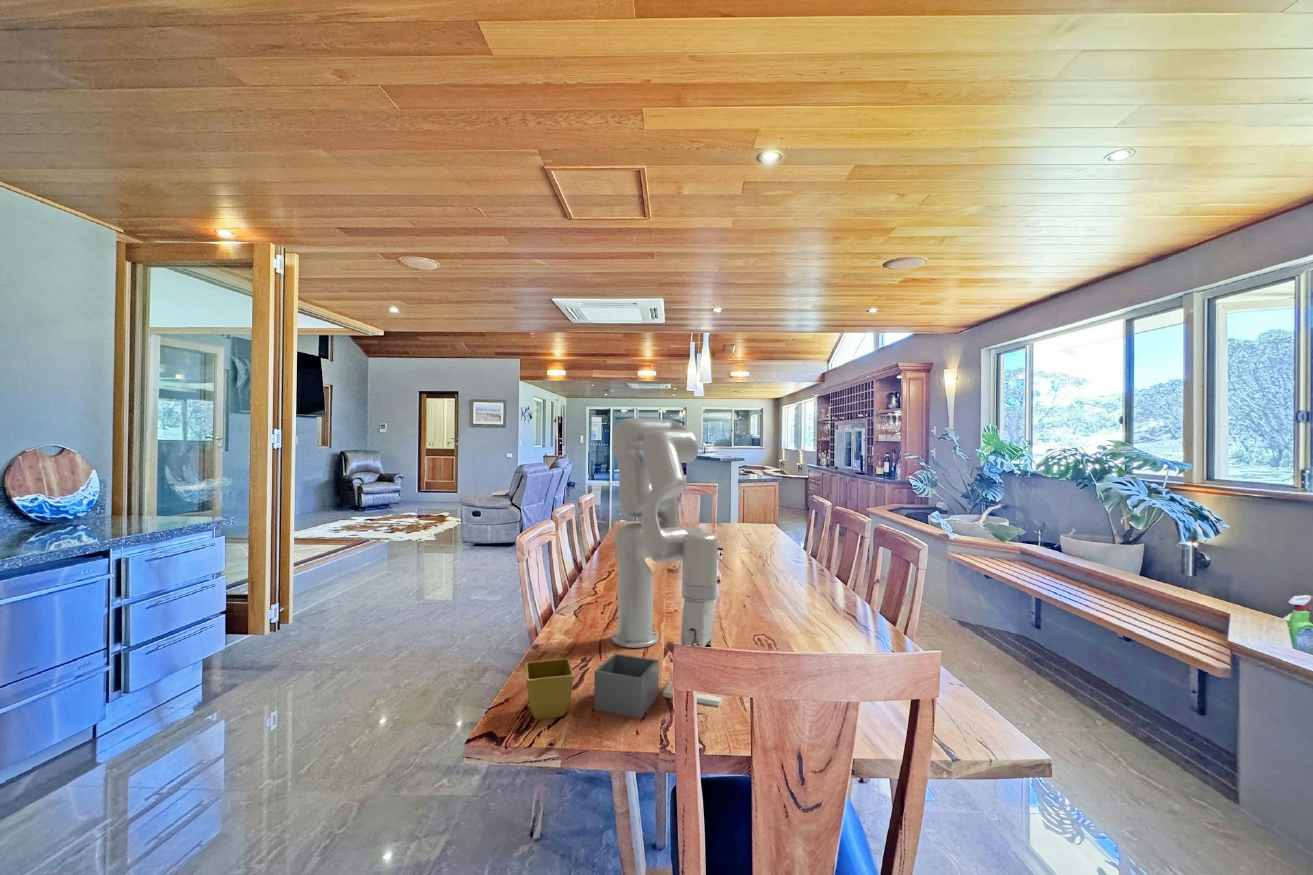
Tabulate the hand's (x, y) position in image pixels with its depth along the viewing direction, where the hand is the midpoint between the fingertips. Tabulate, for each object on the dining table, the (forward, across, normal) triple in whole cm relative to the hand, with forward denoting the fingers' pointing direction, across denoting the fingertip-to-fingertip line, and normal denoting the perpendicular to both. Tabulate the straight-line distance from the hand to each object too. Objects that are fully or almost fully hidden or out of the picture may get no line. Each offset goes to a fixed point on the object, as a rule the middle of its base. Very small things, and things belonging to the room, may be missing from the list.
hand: (698, 670), depth 118 cm
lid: (+4, 0, 0) cm, 4 cm away
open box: (+5, +11, -12) cm, 17 cm away
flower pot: (+5, +20, -25) cm, 32 cm away
